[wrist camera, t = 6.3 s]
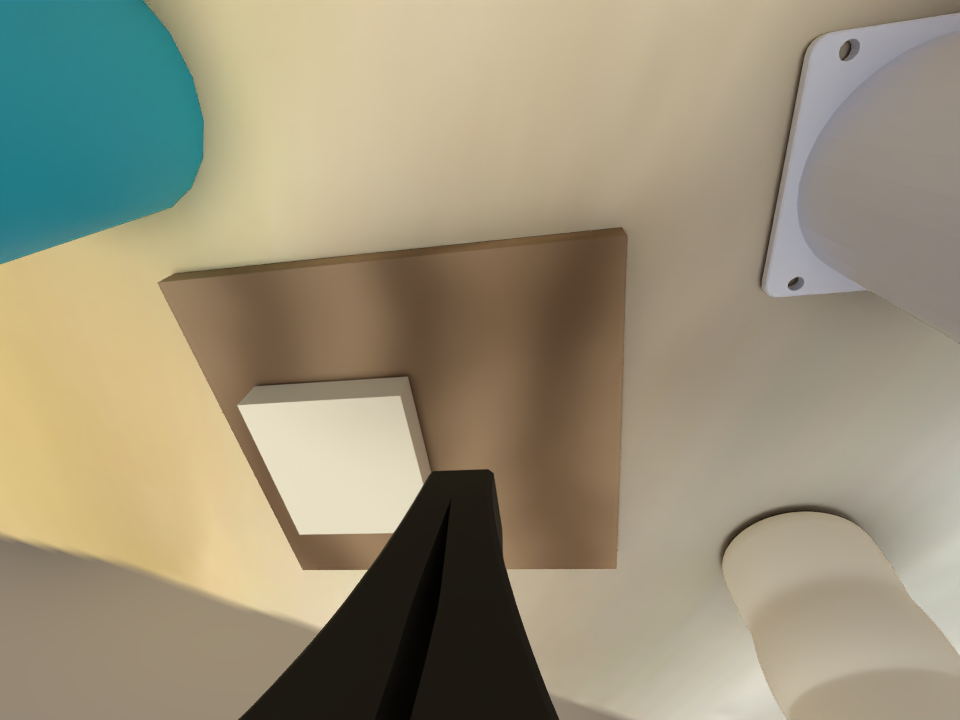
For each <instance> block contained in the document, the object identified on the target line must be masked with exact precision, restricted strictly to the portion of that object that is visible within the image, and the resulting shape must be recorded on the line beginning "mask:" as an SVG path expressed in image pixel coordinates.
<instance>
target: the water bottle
mask: <svg viewBox="0 0 960 720" xmlns="http://www.w3.org/2000/svg"><path fill="white" fill-rule="evenodd" d="M722 570H723V575H724V578H725V581H726V584H727V587H728V589H729V591H730V594H731V596H732V598H733V601H734V603H735V605H736V607H737V609H738V611H739V613H740V615H741V617H742V619H743V621H744V623H745V624H746V626H747V628H748V630H749V631H750V633H751V635H752V638H753V641H754V645H755V649H756V653H757V657H758V660H759V663H760V666H761V668H762V671H763V673H764V676H765V678H766V681H767V683H768V685H769V688H770V690H771V692H772V694H773V696H774V698H775V700H776V702H777V704H778V706H779V707H780V709H781V711H782V712H783V714H784V715H785V717H786V718H787V720H960V656H959V654H958V653H957V651H956V650H955V648H954V647H953V646H952V644H951V643H950V642H949V640H948V639H947V638H946V636H945V635H944V634H943V633H942V631H941V630H940V629H939V628H938V626H937V625H936V624H935V623H934V622H933V621H932V619H931V618H930V617H929V616H928V615H927V614H926V613H925V612H924V611H923V610H922V609H921V608H920V607H919V606H918V605H917V604H916V603H915V602H914V601H913V600H912V599H911V597H910V596H909V594H908V593H907V591H906V589H905V587H904V585H903V584H902V582H901V580H900V579H899V577H898V575H897V574H896V572H895V571H894V569H893V568H892V566H891V565H890V563H889V562H888V560H887V559H886V558H885V556H884V555H883V553H882V552H881V551H880V549H879V548H878V547H877V546H876V544H875V543H874V542H873V540H872V539H871V538H870V537H869V536H868V535H867V533H866V532H865V531H863V530H862V529H861V528H860V527H859V526H857V525H856V524H854V523H853V522H851V521H849V520H847V519H844V518H841V517H839V516H835V515H831V514H827V513H820V512H791V513H785V514H780V515H776V516H772V517H769V518H766V519H763V520H761V521H759V522H757V523H755V524H753V525H751V526H749V527H748V528H746V529H745V530H743V531H742V532H741V533H740V534H738V535H737V536H736V537H735V538H734V539H733V541H732V542H731V543H730V545H729V546H728V548H727V549H726V551H725V554H724V557H723V561H722Z"/></svg>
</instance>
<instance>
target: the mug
mask: <svg viewBox="0 0 960 720" xmlns="http://www.w3.org/2000/svg"><path fill="white" fill-rule="evenodd" d="M203 125H204V120H203V116H202V112H201V108H200V105H199V101H198V97H197V93H196V89H195V85H194V81H193V77H192V75H191V73H190V71H189V70H188V68H187V66H186V64H185V62H184V60H183V58H182V56H181V54H180V52H179V50H178V48H177V46H176V44H175V42H174V40H173V39H172V37H171V35H170V33H169V31H168V30H167V29H166V28H165V27H164V25H163V24H162V23H161V22H160V21H159V19H158V18H157V17H156V16H155V14H154V13H153V12H152V11H151V10H150V8H149V7H148V6H147V5H146V4H145V2H144V1H143V0H0V264H3V263H6V262H9V261H12V260H15V259H18V258H21V257H24V256H27V255H30V254H33V253H36V252H39V251H42V250H45V249H48V248H51V247H54V246H57V245H60V244H63V243H66V242H69V241H72V240H75V239H78V238H81V237H84V236H87V235H90V234H93V233H96V232H99V231H102V230H105V229H108V228H111V227H114V226H117V225H120V224H123V223H126V222H129V221H132V220H135V219H138V218H141V217H144V216H147V215H150V214H153V213H156V212H159V211H162V210H164V209H167V208H170V207H172V206H173V205H174V204H175V203H176V202H177V201H178V200H179V199H180V198H181V197H182V196H183V195H184V194H185V193H186V192H187V191H188V190H189V189H190V188H191V187H192V185H193V182H194V180H195V177H196V175H197V172H198V169H199V167H200V164H201V162H202V159H203Z"/></svg>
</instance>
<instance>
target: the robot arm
mask: <svg viewBox="0 0 960 720" xmlns="http://www.w3.org/2000/svg"><path fill="white" fill-rule="evenodd" d="M846 41H849V42H850V43H851V52H850V54H849V56H848V57H847V58H846V59H845V60H843V61H842V60H841V59H840V58H839V51H840V48H841V46H842V45H843V44H844V43H845V42H846ZM795 277H798V281H797V283H796V284H795V285H793V286H790V287H788V283H789V281H790V280H792V279H793V278H795ZM762 289H763V290H764V292H765V293H767V294H768V295H769V296H771V297H777V298H778V297H790V296H803V295H816V294H828V293H841V292H853V291H866V290H869V291H871V292H873V293H874V294H876V295H878V296H879V297H881V298H883V299H884V300H886V301H888V302H890V303H891V304H893V305H895V306H896V307H898V308H900V309H902V310H903V311H905V312H907V313H908V314H910V315H912V316H913V317H915V318H917V319H919V320H920V321H922V322H924V323H925V324H927V325H929V326H931V327H932V328H934V329H936V330H937V331H939V332H941V333H942V334H944V335H946V336H948V337H949V338H951V339H953V340H954V341H956V342H958V343H960V13H954V14H947V15H941V16H934V17H927V18H921V19H914V20H908V21H901V22H895V23H888V24H881V25H875V26H868V27H862V28H855V29H848V30H842V31H835V32H829V33H826V34H823V35H820V36H819V37H817V38H816V39H815V40H814V41H812V43H811V44H810V46H809V47H808V48H807V51H806V54H805V56H804V62H803V67H802V72H801V77H800V83H799V88H798V93H797V99H796V104H795V109H794V115H793V120H792V125H791V130H790V136H789V141H788V146H787V152H786V157H785V162H784V168H783V173H782V178H781V183H780V189H779V194H778V199H777V205H776V210H775V215H774V220H773V226H772V231H771V236H770V242H769V247H768V252H767V258H766V263H765V268H764V273H763V279H762ZM238 720H559V718H558V716H557V713H556V711H555V708H554V706H553V704H552V701H551V699H550V696H549V694H548V691H547V689H546V686H545V684H544V681H543V678H542V676H541V673H540V670H539V668H538V665H537V663H536V660H535V657H534V655H533V652H532V649H531V646H530V643H529V640H528V638H527V635H526V632H525V629H524V626H523V623H522V620H521V617H520V614H519V611H518V608H517V605H516V602H515V598H514V595H513V591H512V588H511V585H510V581H509V578H508V574H507V570H506V567H505V563H504V559H503V533H502V524H501V517H500V511H499V504H498V498H497V491H496V485H495V478H494V473H493V472H491V471H490V470H489V469H477V470H448V471H433V472H432V473H431V474H430V475H429V476H428V478H427V479H426V481H425V483H424V485H423V486H422V488H421V490H420V491H419V493H418V495H417V497H416V498H415V500H414V502H413V503H412V505H411V506H410V508H409V510H408V511H407V513H406V515H405V516H404V518H403V519H402V521H401V522H400V524H399V526H398V527H397V529H396V530H395V532H394V533H393V535H392V536H391V538H390V539H389V541H388V542H387V544H386V545H385V547H384V548H383V550H382V551H381V553H380V554H379V555H378V557H377V558H376V560H375V561H374V563H373V564H372V565H371V567H370V568H369V569H368V571H367V572H366V573H365V575H364V576H363V578H362V579H361V580H360V582H359V583H358V584H357V586H356V587H355V588H354V590H353V591H352V592H351V594H350V595H349V596H348V598H347V599H346V600H345V602H344V603H343V604H342V605H341V607H340V608H339V609H338V610H337V612H336V613H335V614H334V615H333V617H332V618H331V619H330V620H329V622H328V623H327V624H326V625H325V626H324V628H323V629H322V630H321V631H320V632H319V633H318V635H317V636H316V637H315V638H314V639H313V641H312V642H311V643H310V644H309V645H308V646H307V647H306V649H305V650H304V651H303V652H302V653H301V654H300V655H299V656H298V658H297V659H296V660H295V661H294V662H293V663H292V664H291V665H290V666H289V667H288V668H287V670H286V671H285V672H284V673H283V674H282V675H281V676H280V677H279V678H278V679H277V681H276V682H275V683H274V684H273V685H272V686H271V687H270V688H269V689H268V690H267V691H266V692H265V693H264V694H263V695H262V696H261V698H259V699H258V701H257V702H256V703H255V704H254V705H253V706H252V707H251V708H250V709H249V710H248V711H247V712H246V713H245V714H244V715H243V716H242V717H241V718H239V719H238Z"/></svg>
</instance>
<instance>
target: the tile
mask: <svg viewBox="0 0 960 720" xmlns="http://www.w3.org/2000/svg"><path fill="white" fill-rule="evenodd" d="M237 406H238V408H239V410H240V412H241V414H242V416H243V418H244V421H245V423H246V425H247V427H248V429H249V431H250V433H251V435H252V437H253V439H254V441H255V443H256V445H257V448H258V450H259V452H260V454H261V456H262V458H263V460H264V462H265V464H266V466H267V468H268V470H269V472H270V474H271V477H272V479H273V481H274V483H275V485H276V487H277V489H278V491H279V493H280V495H281V497H282V499H283V501H284V503H285V506H286V508H287V510H288V512H289V514H290V516H291V518H292V520H293V522H294V524H295V526H296V528H297V530H298V532H299V535H307V534H372V533H394V532H395V530H396V529H397V527H398V526H399V524H400V522H401V521H402V519H403V518H404V516H405V515H406V513H407V511H408V510H409V508H410V506H411V505H412V503H413V502H414V500H415V498H416V497H417V495H418V493H419V491H420V490H421V488H422V486H423V485H424V483H425V481H426V479H427V478H428V476H429V475H430V474H431V469H430V465H429V461H428V457H427V452H426V448H425V444H424V440H423V436H422V432H421V428H420V424H419V420H418V416H417V412H416V407H415V403H414V399H413V395H412V391H411V387H410V383H409V379H408V377H393V378H378V379H362V380H346V381H331V382H315V383H300V384H284V385H268V386H254V387H253V388H252V389H251V391H250V392H249V393H248V394H247V395H246V396H245V397H244V398H243V399H242V400H241V402H240V403H239V404H238V405H237Z"/></svg>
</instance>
